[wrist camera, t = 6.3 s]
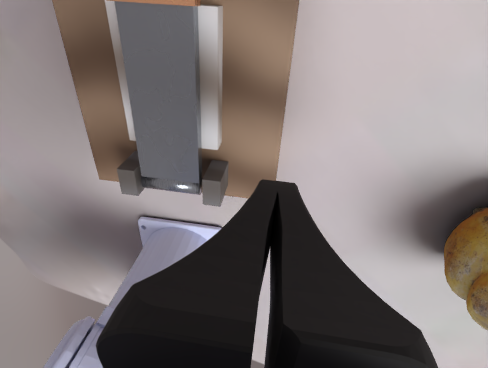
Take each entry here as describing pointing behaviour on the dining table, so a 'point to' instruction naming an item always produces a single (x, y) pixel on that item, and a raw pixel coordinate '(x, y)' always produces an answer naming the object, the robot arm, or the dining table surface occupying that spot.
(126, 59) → the tan and grey block
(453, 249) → the decorative figurine
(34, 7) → the dining table surface
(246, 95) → the clamp board
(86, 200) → the dining table surface
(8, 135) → the dining table surface
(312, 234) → the robot arm
